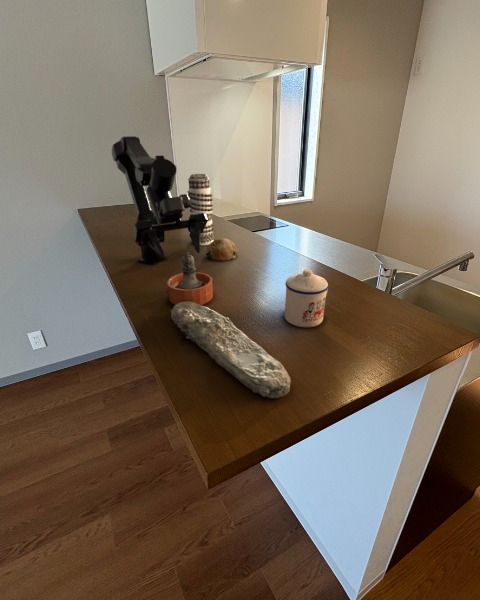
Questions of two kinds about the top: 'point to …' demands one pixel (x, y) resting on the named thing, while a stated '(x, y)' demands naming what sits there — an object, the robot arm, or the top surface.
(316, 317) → the teacup with lid
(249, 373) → the elongated rock
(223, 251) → the bread roll
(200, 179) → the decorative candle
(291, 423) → the top surface
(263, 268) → the top surface
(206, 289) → the bowl
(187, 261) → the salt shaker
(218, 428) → the top surface
